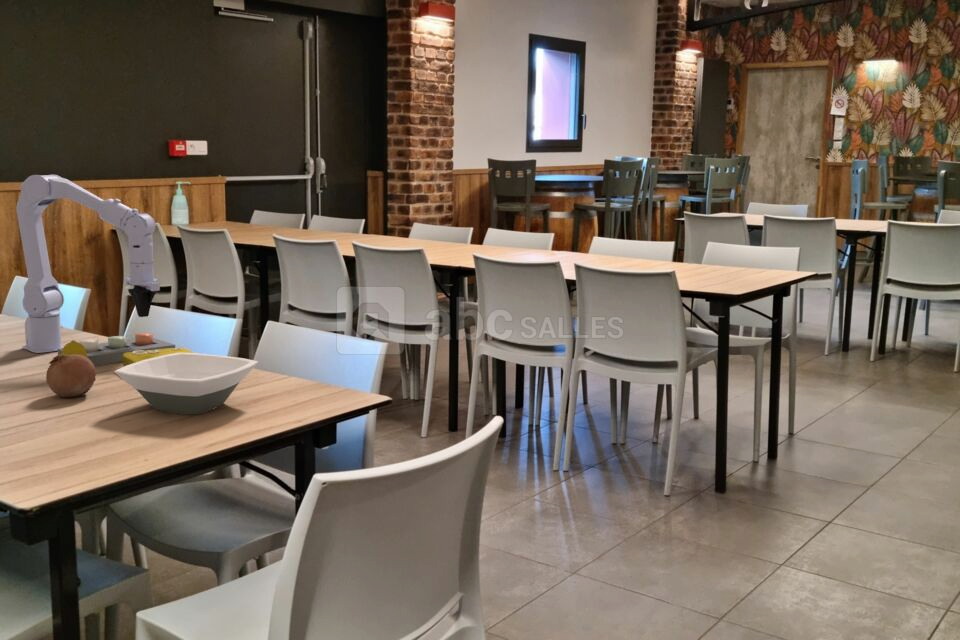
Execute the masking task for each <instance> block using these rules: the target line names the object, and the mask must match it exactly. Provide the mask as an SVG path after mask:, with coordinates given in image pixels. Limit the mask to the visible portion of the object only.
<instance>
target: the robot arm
mask: <svg viewBox="0 0 960 640" xmlns="http://www.w3.org/2000/svg"><path fill="white" fill-rule="evenodd" d="M60 199H69V200H71V201H73V202H75V203H78V204H80V205H82V206H84V207H86V208H88V209H90V210H93V211H96V212H97V214H98V217H99V219H100V220H102V221H104V222H106V223H108V224H110V225H112V226H114V227H116V228H118V229H120V230H122V231H123V232H124V233H125V235H126V236H127V237H128V261H129V262H128V267H129V268H128V271H129V276H128V277H127V276H126V277H125V278H124V279H125V280H124V282H125V286H132V287H133V288H128V289H127V291H128V294H129V295H130V296H131V298H132V300H133V303H134V306H135V310H136V314H137V317H139V318H145V317H147V318H148V317H149V315H150V310H151V306H152V301H153V299H154V297H155V296H156V294H157V292H158V291H161V287H160V282H159V279H158V278H155V275H154V274H155V272H154V271H155V266H154V243H153V241H154V240H153V238H154V237H153V235H154V232H156V231H155V230H156V226H157V224H156V220H155V219H154V217H152V216H151V215H149V213H148V212H147V213H146V212H140V213H139V209H137V208H131V207H129V206H127V205H125V204H124V203H122V200H120V199H119V198H114V199H113V198H107V199H105V200H104V199H102V198H101V197H99V196H97V195H96V194H93V193H92V192H90V191H88V190H87V189H85V188H83V187H81V186H80V185H78V184H76V183H74V182H72V181H71V180H69V179H67V178H65V177H61V176H59V175H58V174H53V173H52V174H50V173H49V174H48V175H47V174H46V175H43V174H42V175H39V174H32V175H30V176H27V178H26V179H25V180H23V182H22V183H21V184H20V193H19V197H18V200H17V203H16V209H15V211H16V215H17V216H16V217H17V221H18V227H19V232H20V238H21V244H22V249H23V256H24V261H25V267H26V273H27V281H26V283H25V284H24V286H23V292H24V294H23V298H22V307H23V310H24V311H25V312H26V313H27V315H28V316H27V318H26V319H25V322H24V334H25V335H24V336H25V345H22V346H21V347H22V349H25V350H27V351H30V352H32V353H34V354H42V353H51V352H58V349H59V348H63V347H64V346H65V345H62V328H61V312H60V309H61V308H62V307H63V305H64V303H65V295H64V293H63V292H62V290H61V289H60V288H59V282H58V281H57V279H56V278H54V276H53V275H52V270H51V264H50V259H49V254H48V246H47V240H46V234H45V229H44V224H43V217H42V214H43V212H44V211H45V210H46V209H47V208H48V207H49V206H50V204H53V203H55V202H56V201H59V200H60Z"/></svg>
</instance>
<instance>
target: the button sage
mask: <svg viewBox="0 0 960 640" xmlns="http://www.w3.org/2000/svg"><path fill="white" fill-rule="evenodd" d="M126 340H127V336H124V335H116V336H115V335H113V336H109V337H107V343H108V348H109V349H112V350H113V349H120V348H126Z"/></svg>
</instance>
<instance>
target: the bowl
mask: <svg viewBox="0 0 960 640" xmlns="http://www.w3.org/2000/svg"><path fill="white" fill-rule="evenodd" d="M258 364H259V361H258V360H254V359H249V358H243V357H235V356H227V355H218V354H217V355H216V354H208V353H199V352H198V353H197V352H194V353H174V354H168V355H163V356H159V357H154V358H150V359H146V360H142V361H139V362H136V363H133V364H130V365H127V366H125V367H123V366H122V367H121V368H118V369H116V370H114V373H115V374H116V375H117V376H118V377H120V378H121V379H122V380H123V381H125V383H127V384H128V385H130V387H132V388H133V389H134V390H136V391H137V392H138V393H139V394H140V395H141V396H142V397H143V398H144V400H145V401H147V403H148V404H149V405H150V406H151V408H153V409H154V410H156V411H157V410H158V411H160V412H166V413H167V412H168V413H173V414H180V415H193V414H195V415H198V413H199V414H202V412H203V413H206V412H209V411H212V410H214V409H213V408H215V407H217V408H219V407H221V406H222V405H224V404H225V403H224V402H226V401H227V400H228V399H229V397H230V396H231V394H232V393H233V392H234V390H235V389H236V388H237V387H238V385H239V384H240V382H242V381H243V379H245V377H246V376H248V374H249V373H250V372H251V371H252V370H253V369H254V368H255V367H256V366H257V365H258ZM223 403H224V404H223ZM221 404H222V405H221ZM220 405H221V406H220ZM218 406H219V407H218ZM211 409H212V410H211ZM215 409H216V408H215ZM208 410H209V411H208ZM205 411H206V412H205Z"/></svg>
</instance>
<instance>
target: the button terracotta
mask: <svg viewBox="0 0 960 640" xmlns="http://www.w3.org/2000/svg"><path fill="white" fill-rule="evenodd" d="M134 336H135V337H134V339H135V344H136V345H138V346H144V345H152V344H153V338H154V335H153V333H151V332H141V333H136V334H134Z"/></svg>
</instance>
